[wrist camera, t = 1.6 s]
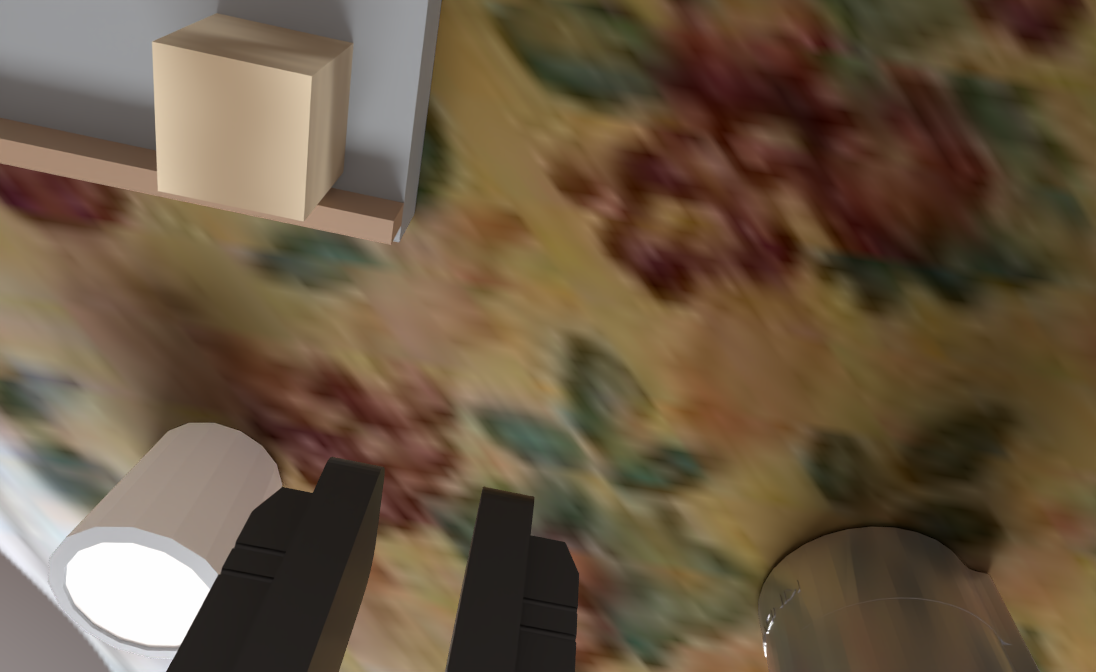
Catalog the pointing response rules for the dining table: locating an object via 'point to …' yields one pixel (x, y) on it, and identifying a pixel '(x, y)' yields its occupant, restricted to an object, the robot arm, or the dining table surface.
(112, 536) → the beige cylinder
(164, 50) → the birch block
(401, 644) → the dining table surface
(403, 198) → the trap box
